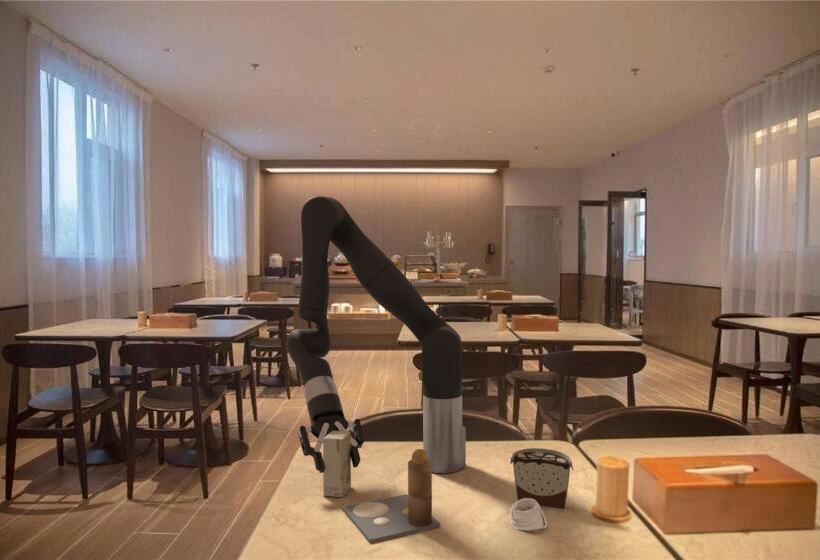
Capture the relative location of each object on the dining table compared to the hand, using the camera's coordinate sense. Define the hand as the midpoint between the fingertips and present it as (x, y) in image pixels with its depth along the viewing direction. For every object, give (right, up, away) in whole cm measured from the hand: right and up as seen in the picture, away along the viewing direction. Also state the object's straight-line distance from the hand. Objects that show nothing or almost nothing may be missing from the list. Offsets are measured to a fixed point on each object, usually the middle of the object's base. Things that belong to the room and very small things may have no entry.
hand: (339, 468), depth 121 cm
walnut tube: (+17, -6, -14) cm, 23 cm away
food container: (+42, -6, -4) cm, 42 cm away
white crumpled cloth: (+37, -6, -14) cm, 40 cm away
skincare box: (-1, -6, +2) cm, 6 cm away
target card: (+11, -6, -11) cm, 17 cm away
